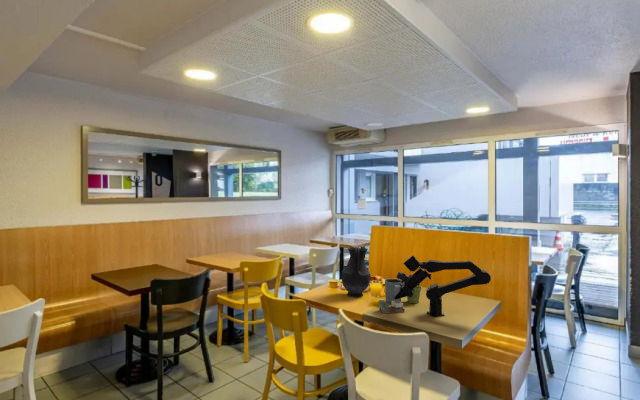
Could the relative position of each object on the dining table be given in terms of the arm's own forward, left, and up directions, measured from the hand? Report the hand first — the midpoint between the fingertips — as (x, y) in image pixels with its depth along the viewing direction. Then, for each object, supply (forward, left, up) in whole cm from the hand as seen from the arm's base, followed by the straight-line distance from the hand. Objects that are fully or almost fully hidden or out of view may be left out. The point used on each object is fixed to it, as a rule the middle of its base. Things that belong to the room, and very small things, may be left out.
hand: (394, 298), depth 191 cm
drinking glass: (+16, -7, -7) cm, 19 cm away
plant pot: (+13, -18, -7) cm, 24 cm away
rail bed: (-1, +2, -7) cm, 7 cm away
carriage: (-1, -1, -4) cm, 4 cm away
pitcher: (+31, +10, -7) cm, 33 cm away
